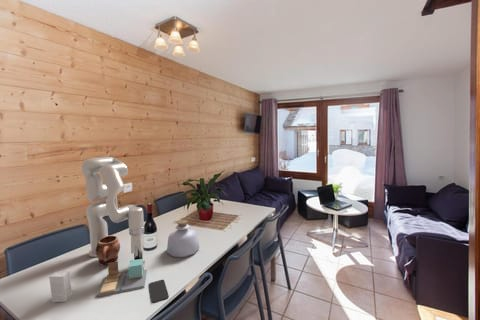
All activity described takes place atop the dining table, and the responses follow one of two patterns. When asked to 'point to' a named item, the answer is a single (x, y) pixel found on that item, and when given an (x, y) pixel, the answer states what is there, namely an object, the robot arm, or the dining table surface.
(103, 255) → the decorative planter
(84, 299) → the dining table surface
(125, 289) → the lane board
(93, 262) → the dining table surface
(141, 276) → the strip cube lane
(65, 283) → the skincare box
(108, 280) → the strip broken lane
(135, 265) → the cube
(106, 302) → the dining table surface
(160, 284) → the phone
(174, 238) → the light grey vase
